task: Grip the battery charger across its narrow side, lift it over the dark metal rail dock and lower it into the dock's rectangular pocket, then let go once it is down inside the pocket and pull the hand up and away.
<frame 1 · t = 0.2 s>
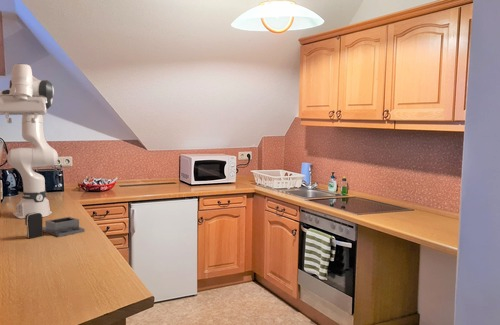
hand: (21, 122, 196), 54 cm above the worktop, tool tilted 30°, fingers open, 8 cm apart
rail dock: (62, 231, 220), on the worktop
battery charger: (34, 237, 209), on the worktop
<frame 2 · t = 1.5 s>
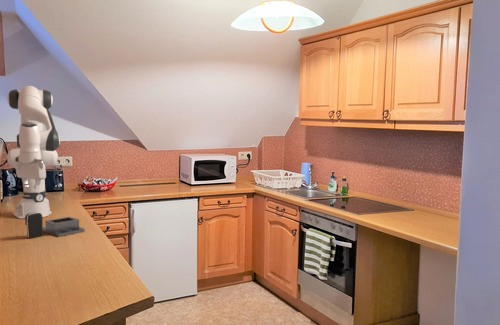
hand: (31, 188, 205), 23 cm above the worktop, tool pointing down, fingers open, 8 cm apart
nothing on the worktop moved.
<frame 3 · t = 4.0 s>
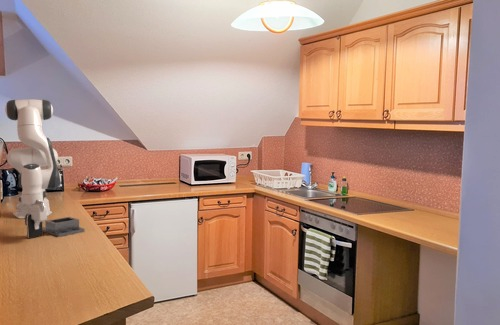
hand: (33, 228, 208), 4 cm above the worktop, tool pointing down, fingers closed on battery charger, 4 cm apart
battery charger: (34, 237, 209), on the worktop, touching gripper
when the fingers open (7 cm above the worktop, at t = 10.2 s): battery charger moves 1 cm, resting on rail dock.
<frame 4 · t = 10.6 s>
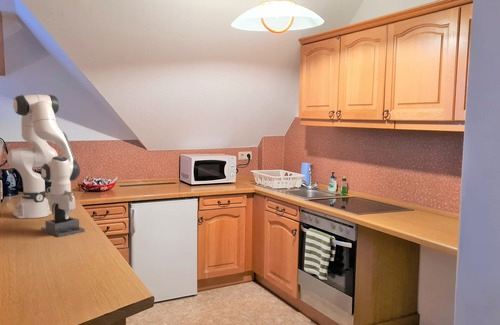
hand: (62, 217, 219), 7 cm above the worktop, tool pointing down, fingers open, 7 cm apart
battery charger: (60, 225, 221), point 2 cm above the worktop, touching gripper, rail dock
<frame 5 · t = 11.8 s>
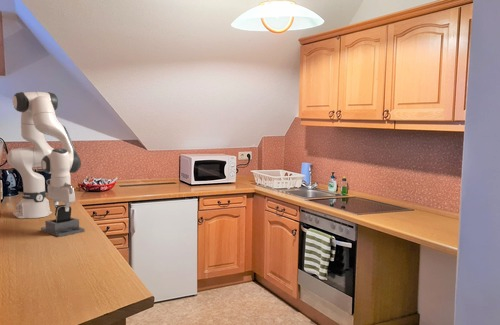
hand: (61, 209, 219), 11 cm above the worktop, tool pointing down, fingers open, 8 cm apart
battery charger: (61, 227, 219), point 2 cm above the worktop, touching gripper
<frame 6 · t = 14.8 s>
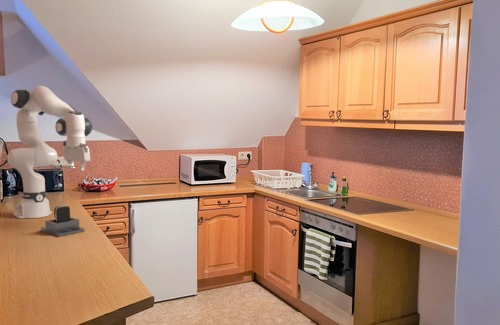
hand: (77, 169, 230), 29 cm above the worktop, tool pointing down, fingers open, 8 cm apart
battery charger: (62, 229, 218), point 1 cm above the worktop, touching rail dock
at the end: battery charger 1.3 cm off-centre on the rail dock, point 1.3 cm above the rail dock's base; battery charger tilted 0°; the gripper is holding nothing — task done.
